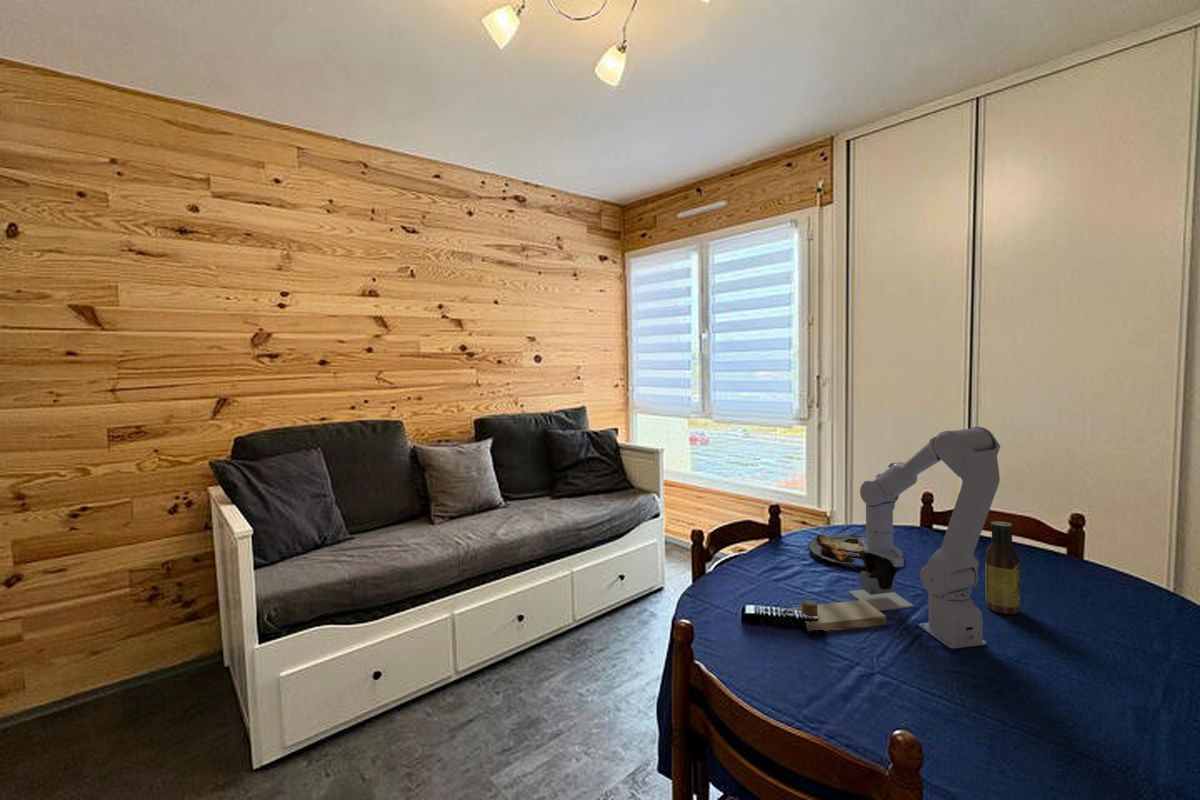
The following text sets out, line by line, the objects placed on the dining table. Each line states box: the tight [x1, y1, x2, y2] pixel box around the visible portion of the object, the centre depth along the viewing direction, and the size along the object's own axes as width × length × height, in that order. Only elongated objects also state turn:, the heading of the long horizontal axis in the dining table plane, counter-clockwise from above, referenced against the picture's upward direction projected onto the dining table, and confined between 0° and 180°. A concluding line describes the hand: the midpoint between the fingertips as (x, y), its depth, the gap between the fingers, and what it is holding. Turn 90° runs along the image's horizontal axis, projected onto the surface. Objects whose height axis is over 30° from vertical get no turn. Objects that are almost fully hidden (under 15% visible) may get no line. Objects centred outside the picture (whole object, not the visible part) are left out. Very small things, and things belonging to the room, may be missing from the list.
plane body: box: [790, 599, 887, 632], centre depth 121 cm, size 18×8×4 cm, turn 96°
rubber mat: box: [848, 589, 914, 612], centre depth 129 cm, size 10×10×1 cm
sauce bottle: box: [984, 520, 1021, 615], centre depth 121 cm, size 7×6×20 cm
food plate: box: [807, 533, 904, 568], centre depth 157 cm, size 25×23×4 cm
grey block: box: [860, 570, 895, 595], centre depth 129 cm, size 6×4×5 cm, turn 96°
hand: (879, 584), depth 129 cm, fingers closed on grey block, 4 cm apart
